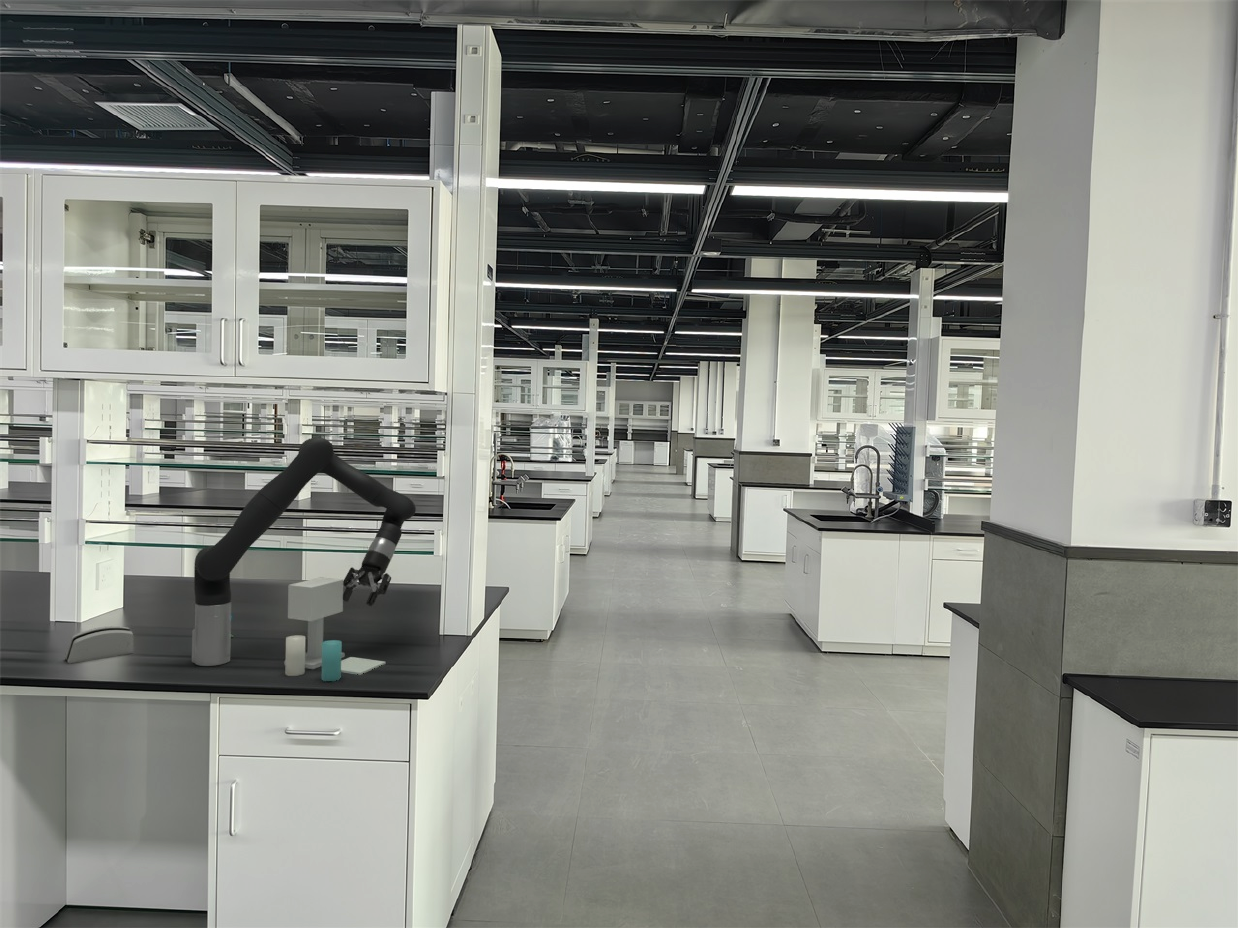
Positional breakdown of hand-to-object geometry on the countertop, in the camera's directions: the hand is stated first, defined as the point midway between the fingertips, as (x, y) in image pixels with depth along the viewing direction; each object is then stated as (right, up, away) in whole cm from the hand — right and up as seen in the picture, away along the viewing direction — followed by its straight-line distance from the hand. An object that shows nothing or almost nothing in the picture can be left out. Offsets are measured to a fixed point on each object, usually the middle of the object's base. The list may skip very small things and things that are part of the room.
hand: (356, 602), depth 242 cm
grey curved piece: (-72, -15, -7) cm, 73 cm away
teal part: (0, -17, -20) cm, 26 cm away
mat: (+2, -17, -8) cm, 19 cm away
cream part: (-12, -17, -16) cm, 26 cm away
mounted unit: (-11, -16, -4) cm, 20 cm away
